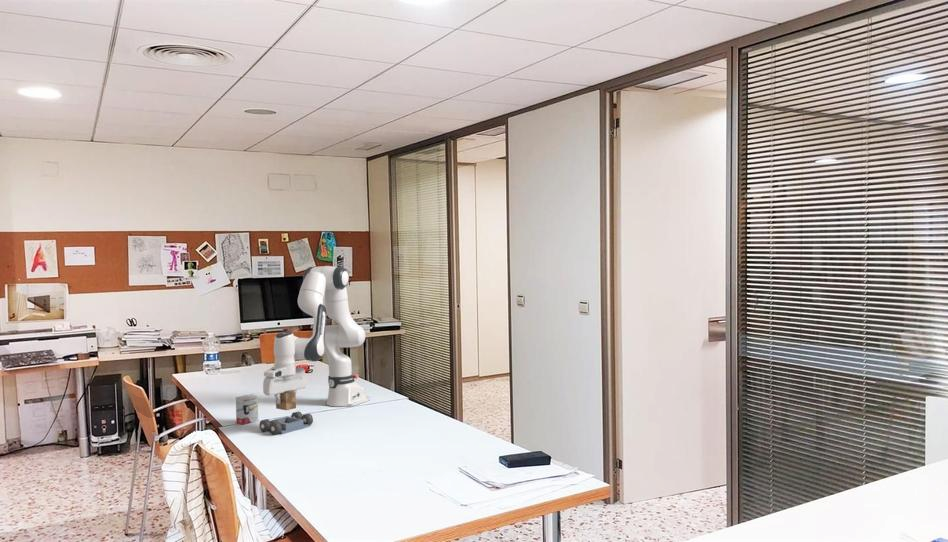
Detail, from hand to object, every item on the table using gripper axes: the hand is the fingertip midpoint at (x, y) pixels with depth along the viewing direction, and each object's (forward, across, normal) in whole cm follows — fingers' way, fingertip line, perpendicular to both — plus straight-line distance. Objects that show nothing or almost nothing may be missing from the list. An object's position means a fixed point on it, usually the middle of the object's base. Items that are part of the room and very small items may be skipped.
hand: (285, 402), depth 291 cm
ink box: (+12, +3, -24) cm, 27 cm away
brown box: (+3, 0, 0) cm, 3 cm away
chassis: (+11, 0, 0) cm, 11 cm away
